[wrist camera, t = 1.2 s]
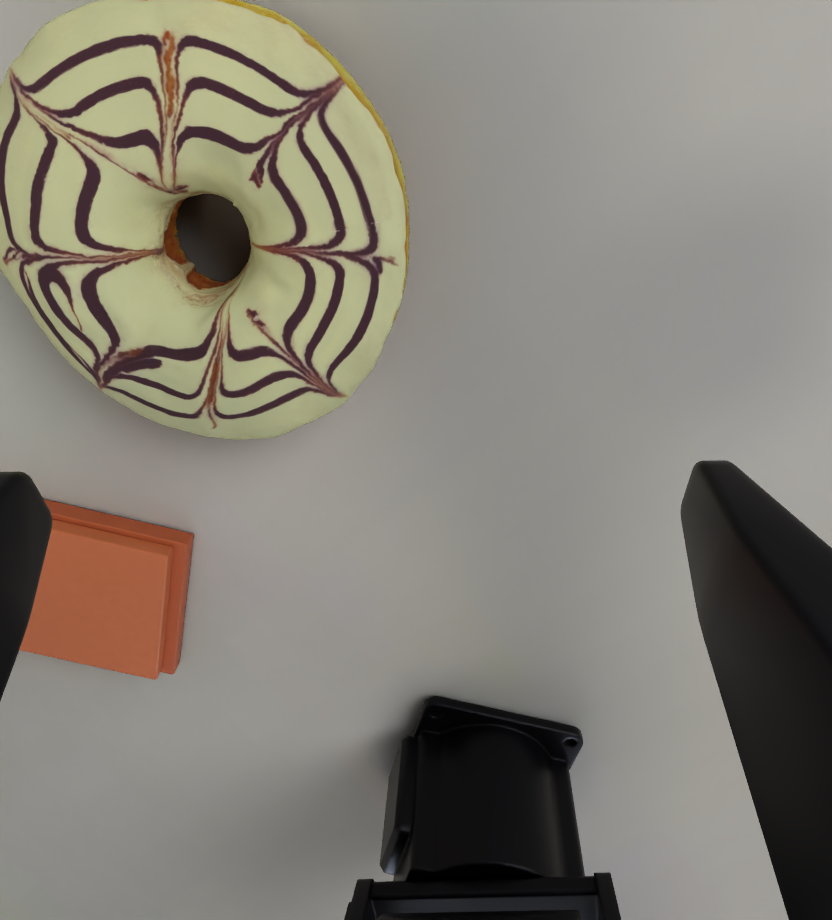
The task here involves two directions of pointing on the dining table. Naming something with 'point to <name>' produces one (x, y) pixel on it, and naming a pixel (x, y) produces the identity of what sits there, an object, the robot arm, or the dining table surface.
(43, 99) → the decorated donut
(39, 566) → the robot arm
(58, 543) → the orange flat bar
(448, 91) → the dining table surface
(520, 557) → the dining table surface
